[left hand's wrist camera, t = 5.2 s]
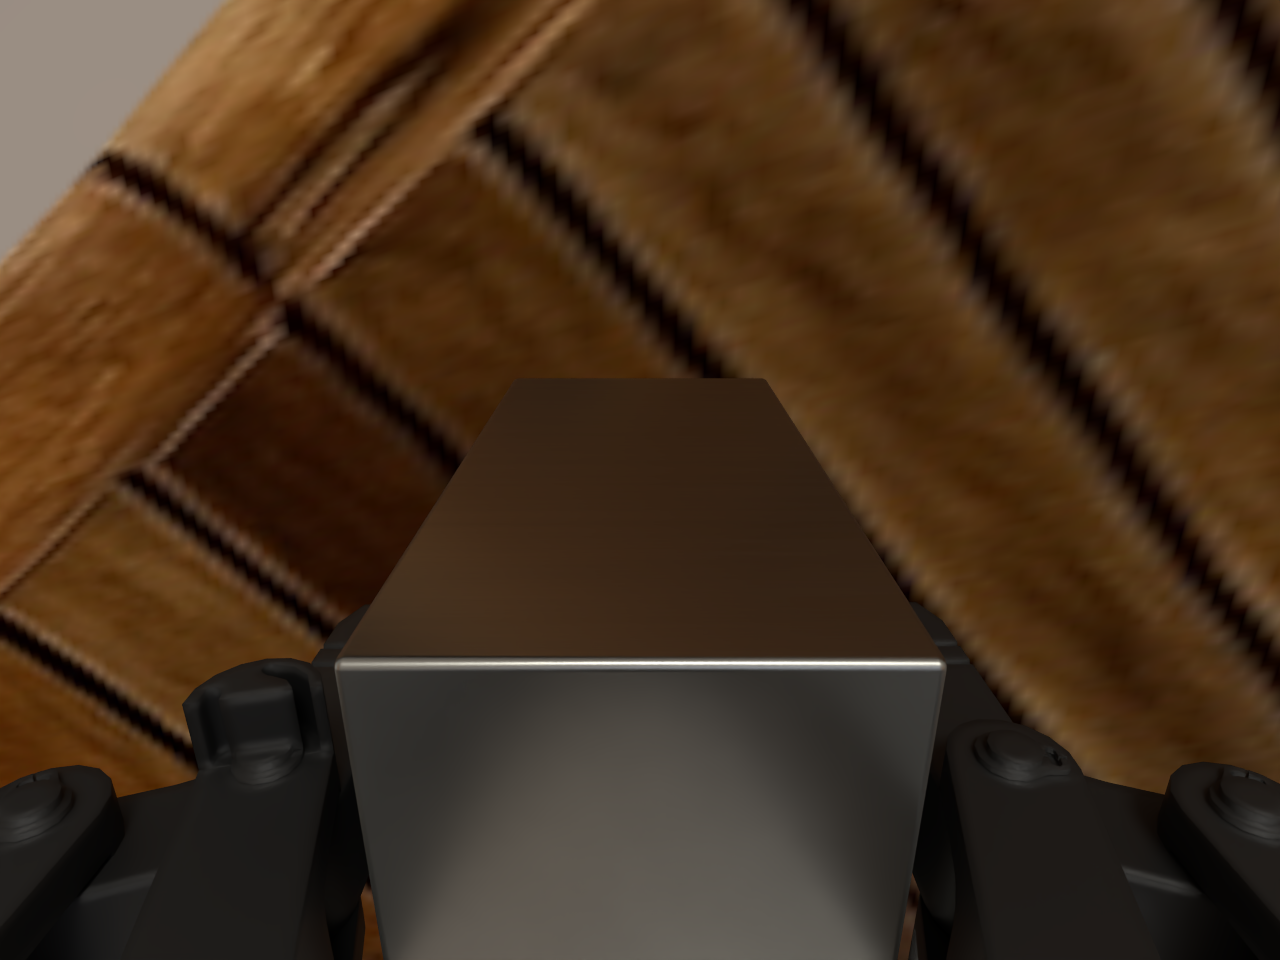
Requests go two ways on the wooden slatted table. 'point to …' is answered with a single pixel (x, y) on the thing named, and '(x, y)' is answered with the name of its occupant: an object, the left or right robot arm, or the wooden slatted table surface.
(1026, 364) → the wooden slatted table surface
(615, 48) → the wooden slatted table surface
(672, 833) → the bar
